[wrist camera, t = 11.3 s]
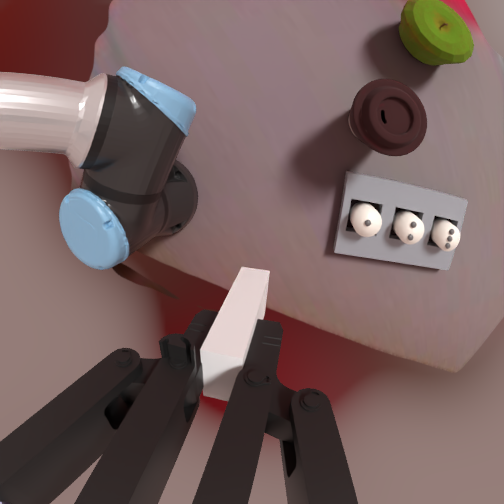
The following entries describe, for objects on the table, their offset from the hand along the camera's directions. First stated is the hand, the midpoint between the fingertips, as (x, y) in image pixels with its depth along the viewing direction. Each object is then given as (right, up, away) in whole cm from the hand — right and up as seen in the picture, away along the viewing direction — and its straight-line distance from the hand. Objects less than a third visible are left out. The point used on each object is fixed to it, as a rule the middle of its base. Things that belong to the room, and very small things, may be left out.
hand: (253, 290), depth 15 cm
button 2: (+27, +7, +29) cm, 40 cm away
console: (+27, +8, +29) cm, 40 cm away
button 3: (+35, +6, +27) cm, 44 cm away
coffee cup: (+19, +24, +24) cm, 39 cm away
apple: (+30, +39, +15) cm, 52 cm away
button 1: (+19, +8, +30) cm, 36 cm away
